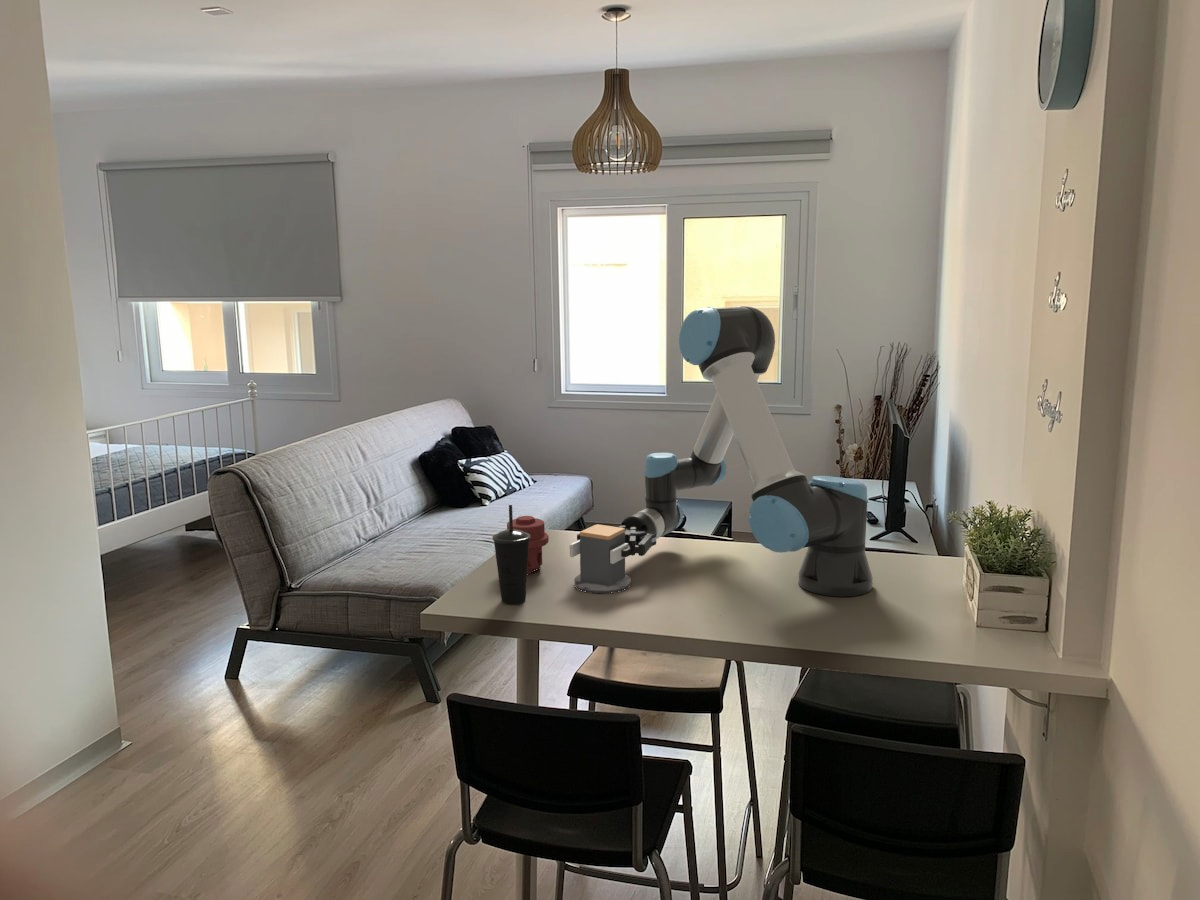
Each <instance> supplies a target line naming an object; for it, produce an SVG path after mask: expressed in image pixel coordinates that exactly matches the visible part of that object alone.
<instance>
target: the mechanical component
mask: <svg viewBox="0 0 1200 900" xmlns="http://www.w3.org/2000/svg"><path fill="white" fill-rule="evenodd" d="M508 529H510V528H509V521H507V522H506V530H508ZM513 529H517V530H521V531H523V532H526V533H529V534H530V536H531V538H530V539H529V550H528V566H527V574H529V575H530V574H531V573H533V572H535V571H534V570H536V569H539V568H540V569H541V567H542V566H543V547H544V546H546V545H547V544H548V543H549V534H548V533H547V532H545V530H546V528H545V521H544V520H542V519H540V518H538V517H537V518H535V517H534V516H532V515H520V516H518V517H517V518H513ZM540 569H539V570H540ZM532 571H533V572H532ZM536 571H537V570H536ZM530 572H531V573H530Z"/></svg>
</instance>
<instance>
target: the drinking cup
mask: <svg viewBox="0 0 1200 900" xmlns="http://www.w3.org/2000/svg"><path fill="white" fill-rule="evenodd" d="M508 519H509V521H508V522H509V528H510V529H508V530H507V529H504V530H501V531H499V532H497V533H495V534H493V536H492V539H491V540H492V541H493V543H494V552H495V560H496V567H497V576H498V582H499V583H498V584H499V590H500V598H501V599H500V600H501V602H502V604H504V605H510V606H513V605H514V606H515V605H520V604H521V605H522V604H523V603H525V602H526V597H527V581H528V579H527V578H528V575H527V566H528V550H529V539H530V538H531V536H530V534H529V533H526V532H523V531H521V530H517V529H513V520H514V518H513V505H512V504H508Z"/></svg>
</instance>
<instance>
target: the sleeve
mask: <svg viewBox="0 0 1200 900" xmlns="http://www.w3.org/2000/svg"><path fill="white" fill-rule="evenodd" d="M579 534H580V554H579V559H580V560H579V561H580V562H579V563H580V564H579V565H580V571H579V572H580V581H583V582H589V583H594V584H600V585H605V586H610V585H612V584H614V583H615V582H617V581H619V580H621V579H622V578H624V577H625V574H626V557H625V558H623V559H622V560H620V561H618V562H616V563H614V564H611V563H610V551H611V550H613V549H614V548H616V547H618V546H620V545H622V544H624V543H625V528H619V527H618V526H611V525H607V524H606V525H604V524H598V523H597V524H594V525H592V526H590V527H588V528H584V529H583V530H581V531H579Z"/></svg>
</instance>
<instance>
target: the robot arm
mask: <svg viewBox="0 0 1200 900" xmlns="http://www.w3.org/2000/svg"><path fill="white" fill-rule="evenodd" d="M774 329H775V328H774V326H773V324H772V322H771V320H770V319H769V317H768V316H767V315H766V314H765V313H764V312H762V311H761V310H760V309H758V308H755V307H752V306H730V307H727V306H726V307H725V306H724V307H714V306H708V307H704V308H697V309H694V310H692V311H691V312H690V313H689V314H687V315H686V317H685V319H684V320H683V322H682V324H681V326H680V331H679V334H678V346H679V351H680V354H681V356H682V358H683V359H684V361H685V362H687V363H689V364H690V365H693V366H698V368H699V370H700V374H701V375H702V378H703V380H706V381H709V382H711V383H713V386H714V388H715V391H716V393H715V396H714V398H713V400H712V403H711V406H710V408H709V410H708V412H707V415H706V417H705V420H704V423H703V425H702V427H701V429H700V432H699V435H698V436H697V440H696V442H695V445H694V447H693V450H692V451H691V454H690V456H689V457H684V458H678V457H677V455H676V454H675V453H671V452H654V453H649V454H648V455H647V456H646V458H645V463H644V487H645V489H644V490H645V491H644V492H645V494H644V495H645V497H644V509H642V510H640V511H637V512H636V513H633V514H632V515H629V516H627V517H626V518H624V520H623V521H622V522H621V524H620V525H619V526H617V527H619V528H625V543H624V544H622V545H620V546H618V547H616V548H614V549H613V550H611V551H610V563H611V564H614V563H616V562H618V561H620V560H622V559H623V558H625V559H626V558H627V557H630V556H632V557H633V556H635V555H636V554H637V555H638V556H640V557H643V556H645V555H646V554H647V552H648V551H649V550H650V549H651V548H652V547H653V546H655V545H657V539H659V538H662V537H664V536H665V535H667V534H670V533H672V532H673V531H675V530H676V529H678V527H680V526H681V524H682V522H683V520H684V511H683V508H682V506H681V504H680V503H678V501H677V500H678V492H680V491H686V490H690V489H696V488H697V489H698V488H702V487H709V486H712V485H715V484H718V483H722V481H723V480H725V477H726V475H727V472H726V471H727V470H726V469H727V464H726V461H725V460H724V457H725V455H726V453H727V450H728V448H729V446H730V444H731V442H732V439H733V437H734V438H735V440H736V442H737V443H736V444H737V445H738V448H739V450H740V453H741V455H742V458H743V460H744V462H745V465H746V467H747V470H748V472H749V475H750V477H751V480H752V481H753V482H752V483H753V485H754V486H753V489H752V491H751V494H750V498H751V499H752V503H751V505H750V506H749V510H748V513H749V514H750V515H749V516H748V524H749V527H750V530H751V532H752V534H753V536H754V538H755V539H756V541H758V542H759V544H760V545H761V546H762V547H764V548H765V549H768V550H769V551H771V552H773V553H789V552H792V553H793V552H797V551H799V550H802V549H804V548H807V550H806V552H805V556H804V557H803V561H802V564H801V566H800V568H799V571H798V585H799V586H800V587H801V588H802V589H804V590H805V591H809V592H810V593H813V594H818V595H823V596H829V597H841V598H842V597H856V596H862V595H865V594H867V593H869V592H871V591H872V590H873V574H872V571H871V568H870V564H869V561H868V557H867V553H866V538H867V537H866V536H867V533H866V532H867V519H868V518H867V515H868V513H867V512H868V504H869V499H868V489H867V488H868V487H867V485H866V484H864V483H863V482H862V481H860V480H857V479H851V478H847V477H846V478H845V477H839V476H829V475H814V476H811V477H810V481H808V479H807V476H806V474H805V473H802V472H800V471H797V470H796V469H795V468H794V466H793V462H792V460H791V458H790V455H789V454H788V451H787V449H786V446H785V444H784V440H783V439H782V437H781V434H780V432H779V429H778V427H777V424H776V423H775V420H774V417H773V416H772V413H771V411H770V408H769V406H768V404H767V401H766V399H765V396H764V393H763V392H762V389H761V387H760V384H759V382H758V379H760V376H762V375H764V374H766V373H767V371H768V369H769V367H770V364H771V362H772V359H773V357H774V353H775V352H774V351H775V348H776V347H775V346H776V335H775V330H774ZM578 555H580V533H577V534H576V541H574V542H572V543H569V558H574V557H576V556H578Z"/></svg>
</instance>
